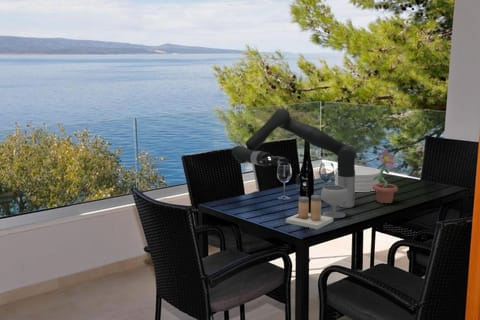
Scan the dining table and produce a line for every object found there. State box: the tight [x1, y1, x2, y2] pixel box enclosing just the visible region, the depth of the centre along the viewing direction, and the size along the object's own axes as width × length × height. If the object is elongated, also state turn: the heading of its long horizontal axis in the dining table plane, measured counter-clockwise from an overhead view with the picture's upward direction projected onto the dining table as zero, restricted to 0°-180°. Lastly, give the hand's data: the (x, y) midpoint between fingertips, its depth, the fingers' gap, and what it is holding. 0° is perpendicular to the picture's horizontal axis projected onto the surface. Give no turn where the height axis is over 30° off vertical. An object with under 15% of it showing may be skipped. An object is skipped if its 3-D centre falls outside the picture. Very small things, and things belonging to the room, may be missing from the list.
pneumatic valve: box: [295, 173, 316, 186], centre depth 329 cm, size 6×12×12 cm, turn 123°
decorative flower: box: [373, 149, 399, 205], centre depth 302 cm, size 15×14×30 cm
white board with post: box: [285, 194, 334, 230], centre depth 266 cm, size 16×18×14 cm
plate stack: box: [334, 165, 381, 192], centre depth 339 cm, size 28×28×12 cm
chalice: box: [320, 184, 348, 219], centre depth 277 cm, size 14×14×15 cm
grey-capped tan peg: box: [297, 196, 310, 220], centre depth 268 cm, size 5×5×12 cm
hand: (282, 162), depth 275 cm, fingers open, 8 cm apart
